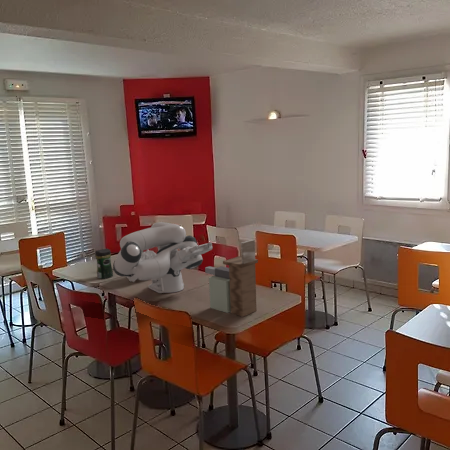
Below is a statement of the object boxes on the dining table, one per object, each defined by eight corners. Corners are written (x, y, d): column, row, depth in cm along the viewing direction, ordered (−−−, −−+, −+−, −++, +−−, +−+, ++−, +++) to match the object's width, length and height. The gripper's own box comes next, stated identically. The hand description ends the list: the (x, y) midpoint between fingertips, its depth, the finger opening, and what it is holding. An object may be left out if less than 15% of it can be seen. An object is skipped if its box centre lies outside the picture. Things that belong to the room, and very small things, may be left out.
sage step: (210, 307, 235) (208, 277, 232) (226, 301, 243) (225, 272, 241) (227, 312, 227) (225, 281, 224) (243, 306, 235) (242, 275, 232)
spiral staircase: (162, 281, 299) (129, 289, 281) (146, 266, 309) (114, 272, 291) (169, 258, 291) (136, 264, 273) (153, 243, 301) (120, 248, 283)
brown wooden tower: (225, 312, 228) (222, 240, 221) (241, 305, 236) (238, 236, 230) (243, 317, 219) (240, 243, 213) (259, 310, 228) (257, 239, 222)
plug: (204, 273, 240) (203, 266, 239) (210, 271, 243) (210, 264, 242) (229, 279, 227) (229, 271, 227) (236, 277, 231) (235, 269, 230)
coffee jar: (108, 274, 305) (106, 247, 302) (114, 276, 300) (112, 248, 296) (95, 277, 299) (92, 249, 296) (101, 280, 293) (98, 251, 290)
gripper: (205, 256, 256) (220, 247, 247) (177, 264, 242) (192, 254, 232) (201, 246, 257) (215, 236, 248) (173, 253, 243) (187, 243, 234)
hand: (204, 245), depth 240 cm, fingers open, 8 cm apart
